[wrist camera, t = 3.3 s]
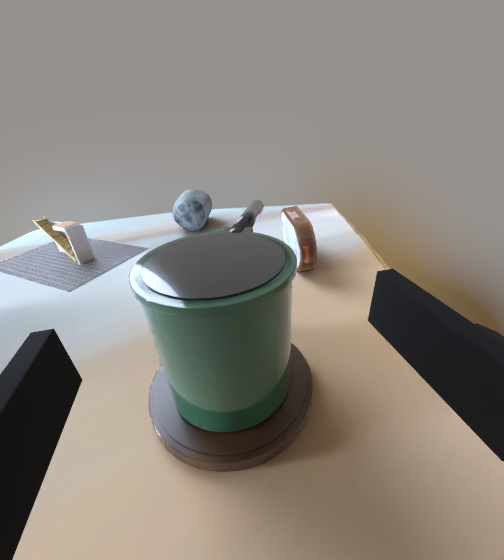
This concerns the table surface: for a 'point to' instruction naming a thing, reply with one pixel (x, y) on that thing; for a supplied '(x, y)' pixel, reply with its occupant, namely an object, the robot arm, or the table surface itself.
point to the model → (68, 257)
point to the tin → (299, 237)
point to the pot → (221, 321)
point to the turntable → (239, 444)
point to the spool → (192, 209)
